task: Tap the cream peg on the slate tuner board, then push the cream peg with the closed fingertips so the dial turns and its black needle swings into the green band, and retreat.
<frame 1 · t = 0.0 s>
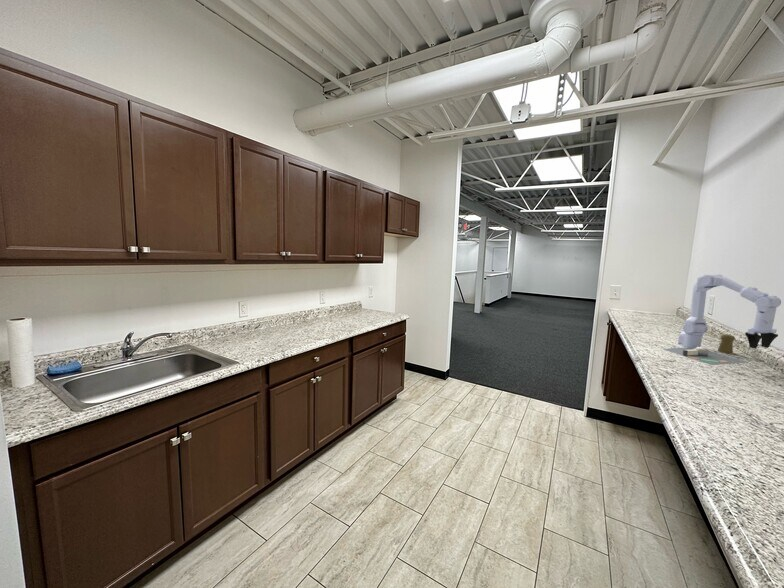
hand: (758, 347, 150), 10 cm above the countertop, fingers open, 7 cm apart
cork: (724, 354, 171), on the countertop
tuner board: (701, 357, 164), on the countertop
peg: (694, 351, 164), point 3 cm above the countertop, hinge at 0.0°
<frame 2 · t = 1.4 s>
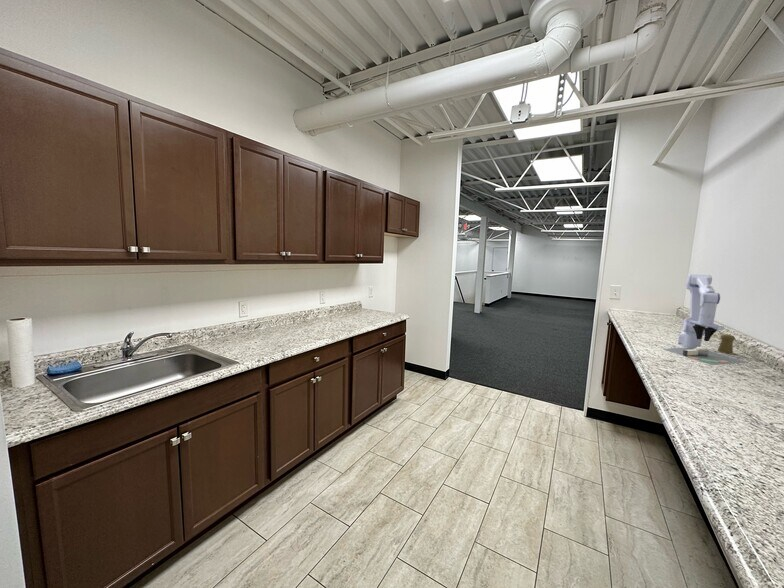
hand: (702, 340, 164), 9 cm above the countertop, fingers open, 3 cm apart
nothing on the countertop moved.
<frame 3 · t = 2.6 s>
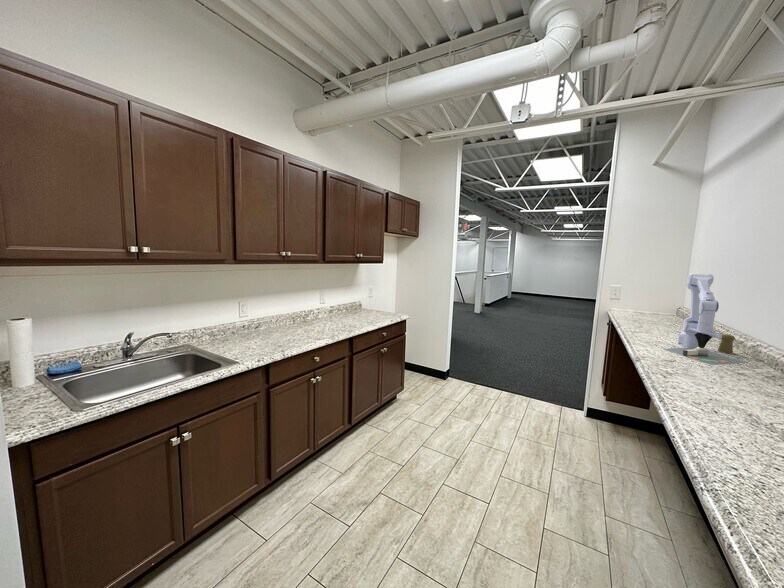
hand: (701, 347, 164), 5 cm above the countertop, fingers closed
nothing on the countertop moved.
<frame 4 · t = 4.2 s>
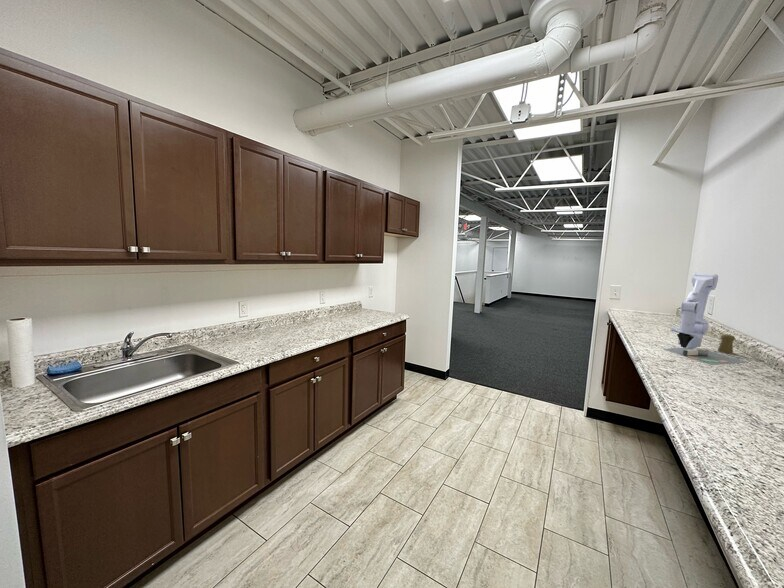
hand: (683, 347, 168), 4 cm above the countertop, fingers closed
nothing on the countertop moved.
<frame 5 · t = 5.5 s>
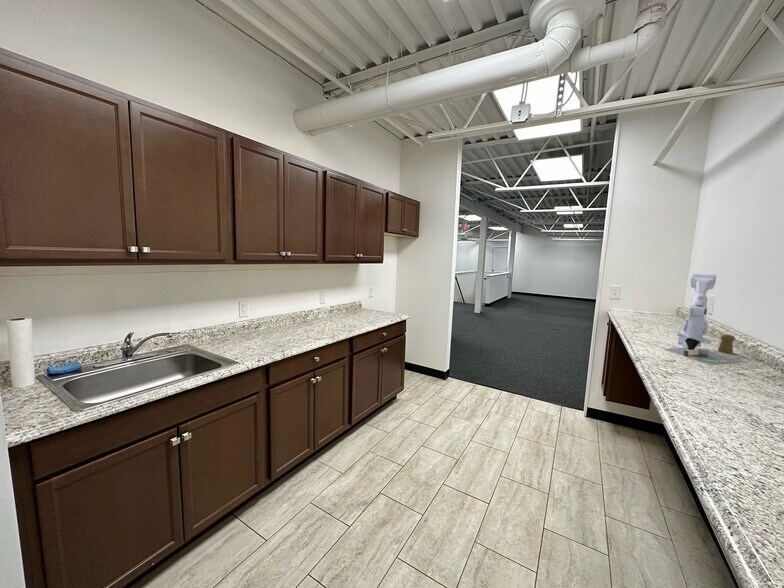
hand: (690, 352, 165), 2 cm above the countertop, fingers closed, pressing on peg
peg: (694, 351, 164), point 3 cm above the countertop, hinge at 2.2°, touching gripper
everything else where it was.
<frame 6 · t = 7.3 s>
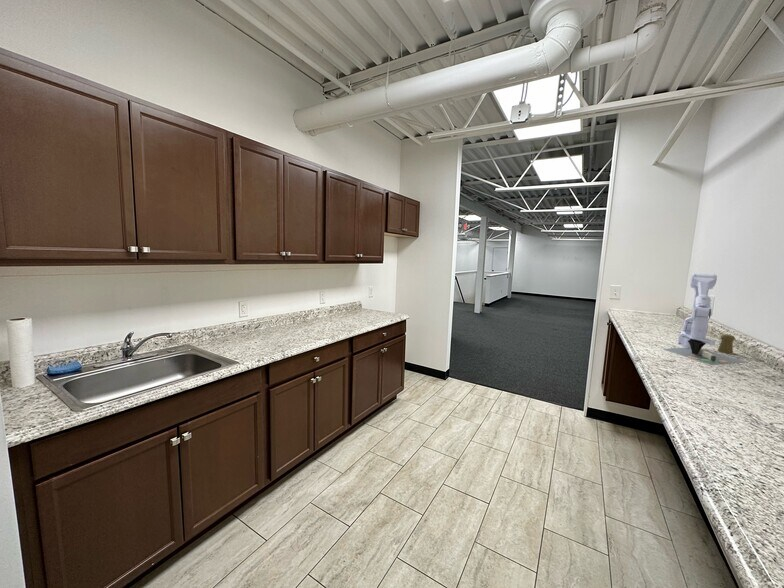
hand: (694, 353, 163), 2 cm above the countertop, fingers closed
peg: (705, 353, 161), point 3 cm above the countertop, hinge at 61.8°
everything else where it was.
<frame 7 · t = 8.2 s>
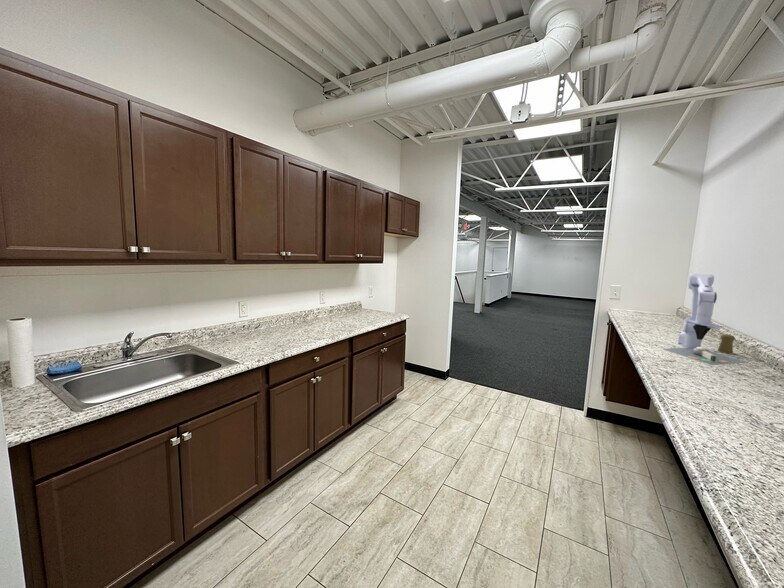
hand: (699, 339, 163), 10 cm above the countertop, fingers closed
nothing on the countertop moved.
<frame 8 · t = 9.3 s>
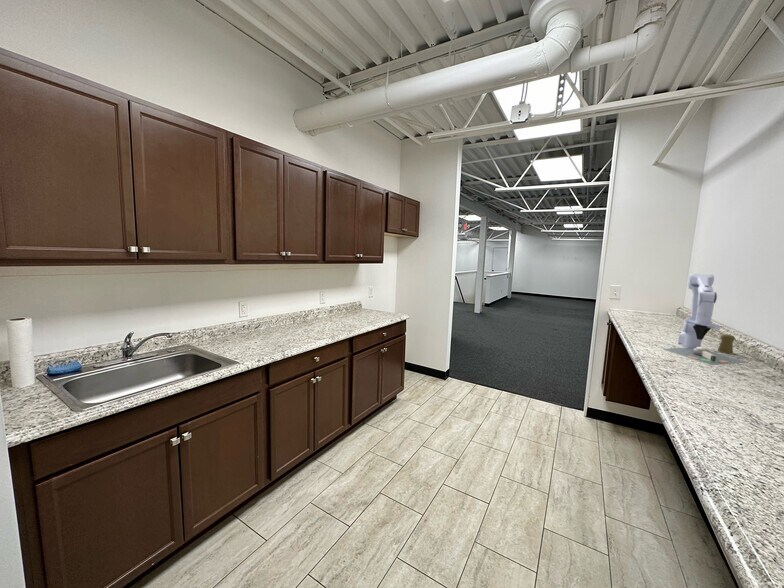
hand: (699, 339, 163), 10 cm above the countertop, fingers closed
nothing on the countertop moved.
at the end: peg at +62° (first picture: +0°) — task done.
